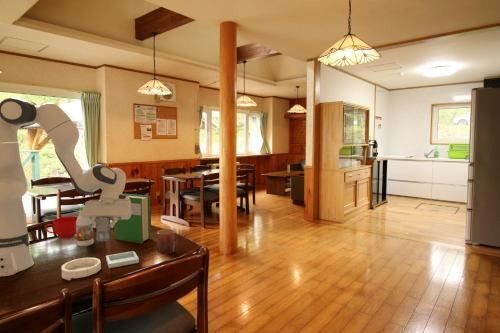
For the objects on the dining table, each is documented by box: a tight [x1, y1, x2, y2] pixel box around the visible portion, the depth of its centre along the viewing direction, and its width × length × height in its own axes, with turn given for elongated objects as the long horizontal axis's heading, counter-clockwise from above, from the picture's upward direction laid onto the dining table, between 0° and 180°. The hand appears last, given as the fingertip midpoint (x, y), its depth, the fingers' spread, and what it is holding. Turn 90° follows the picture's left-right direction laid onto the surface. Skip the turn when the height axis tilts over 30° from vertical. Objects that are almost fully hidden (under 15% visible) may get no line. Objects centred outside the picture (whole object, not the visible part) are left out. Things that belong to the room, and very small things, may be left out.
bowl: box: [61, 257, 102, 281], centre depth 129 cm, size 14×14×4 cm
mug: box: [156, 228, 176, 255], centre depth 153 cm, size 12×9×10 cm
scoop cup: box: [95, 217, 111, 242], centre depth 134 cm, size 5×5×10 cm
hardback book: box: [114, 193, 152, 244], centre depth 171 cm, size 18×7×24 cm, turn 69°
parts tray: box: [105, 250, 140, 269], centre depth 139 cm, size 12×11×2 cm
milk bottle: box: [75, 205, 95, 247], centre depth 163 cm, size 8×8×20 cm
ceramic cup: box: [44, 216, 78, 240], centre depth 174 cm, size 13×17×10 cm
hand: (102, 227), depth 133 cm, fingers closed on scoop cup, 5 cm apart
